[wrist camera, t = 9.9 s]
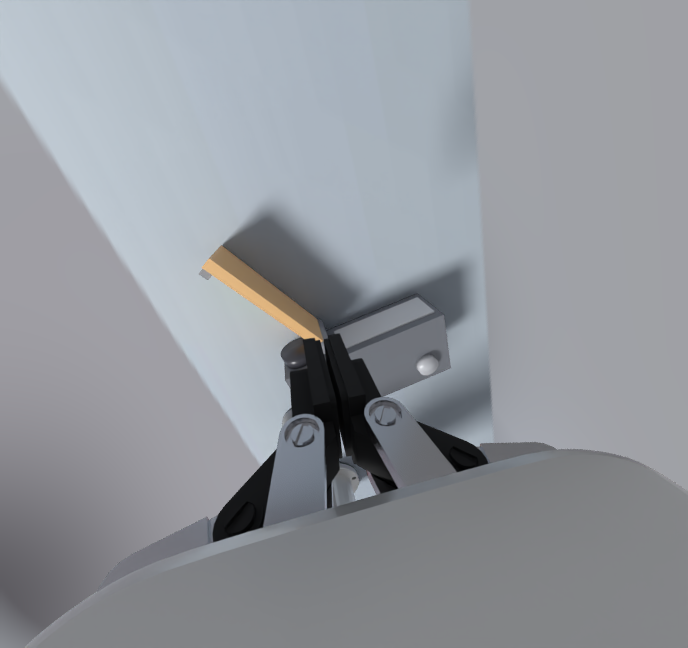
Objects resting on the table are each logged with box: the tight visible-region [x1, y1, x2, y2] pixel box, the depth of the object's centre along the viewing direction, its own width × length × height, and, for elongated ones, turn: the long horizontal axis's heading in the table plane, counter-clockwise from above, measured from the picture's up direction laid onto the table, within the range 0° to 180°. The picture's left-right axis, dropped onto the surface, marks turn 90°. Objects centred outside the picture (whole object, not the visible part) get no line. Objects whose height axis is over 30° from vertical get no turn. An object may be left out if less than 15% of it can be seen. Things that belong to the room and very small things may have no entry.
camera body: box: [281, 294, 451, 397], centre depth 31 cm, size 18×9×7 cm, turn 107°
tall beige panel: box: [199, 245, 328, 354], centre depth 25 cm, size 14×2×5 cm, turn 43°
